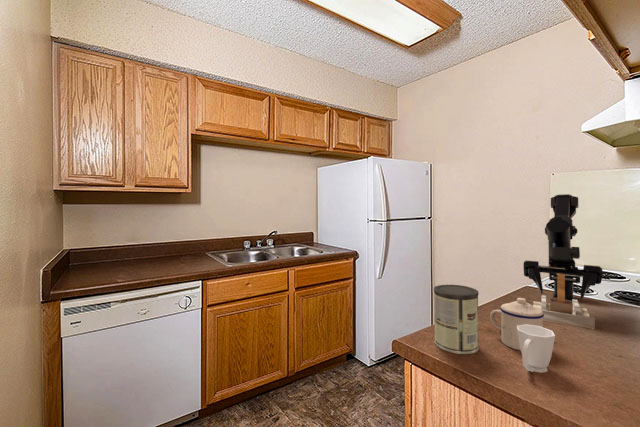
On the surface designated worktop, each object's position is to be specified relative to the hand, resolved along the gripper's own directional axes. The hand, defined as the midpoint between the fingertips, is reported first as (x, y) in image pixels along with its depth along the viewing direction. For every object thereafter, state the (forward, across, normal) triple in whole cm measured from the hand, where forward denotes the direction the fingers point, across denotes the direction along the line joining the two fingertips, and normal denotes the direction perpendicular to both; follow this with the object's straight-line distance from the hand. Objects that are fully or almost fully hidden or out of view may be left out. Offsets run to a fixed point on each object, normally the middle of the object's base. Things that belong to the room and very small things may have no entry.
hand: (561, 295), depth 88 cm
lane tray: (+2, 0, +11) cm, 11 cm away
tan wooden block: (+4, 0, +6) cm, 7 cm away
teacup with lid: (+22, -10, -9) cm, 25 cm away
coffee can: (+29, -22, -16) cm, 40 cm away
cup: (+31, -6, -18) cm, 36 cm away
